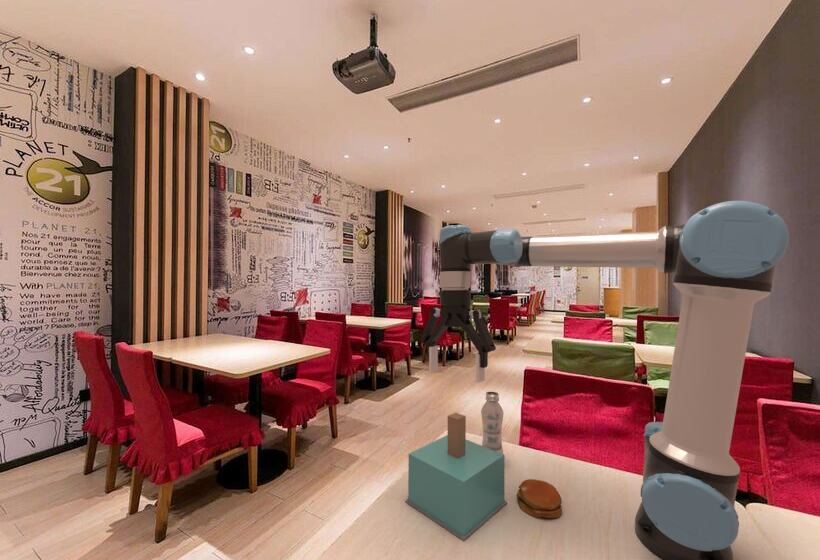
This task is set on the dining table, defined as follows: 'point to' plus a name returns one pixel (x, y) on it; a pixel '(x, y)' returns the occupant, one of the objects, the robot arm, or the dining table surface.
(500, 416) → the plastic bottle
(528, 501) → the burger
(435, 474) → the teal base with peg
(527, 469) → the dining table surface
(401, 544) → the dining table surface
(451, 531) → the mat
